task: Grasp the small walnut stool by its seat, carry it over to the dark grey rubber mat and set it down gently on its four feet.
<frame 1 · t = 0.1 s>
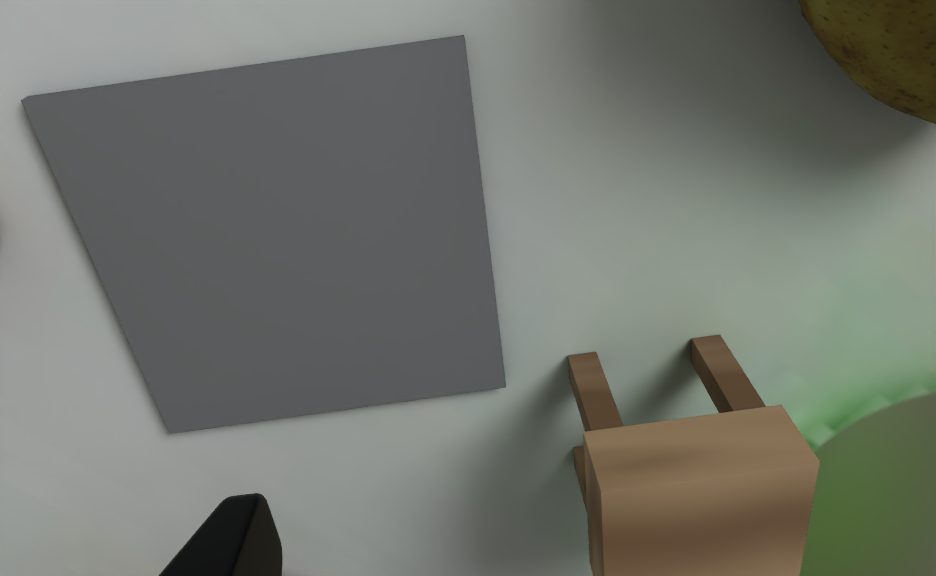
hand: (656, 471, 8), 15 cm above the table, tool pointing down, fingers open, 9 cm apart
mat: (298, 257, 23), on the table
stool: (643, 403, 27), on the table
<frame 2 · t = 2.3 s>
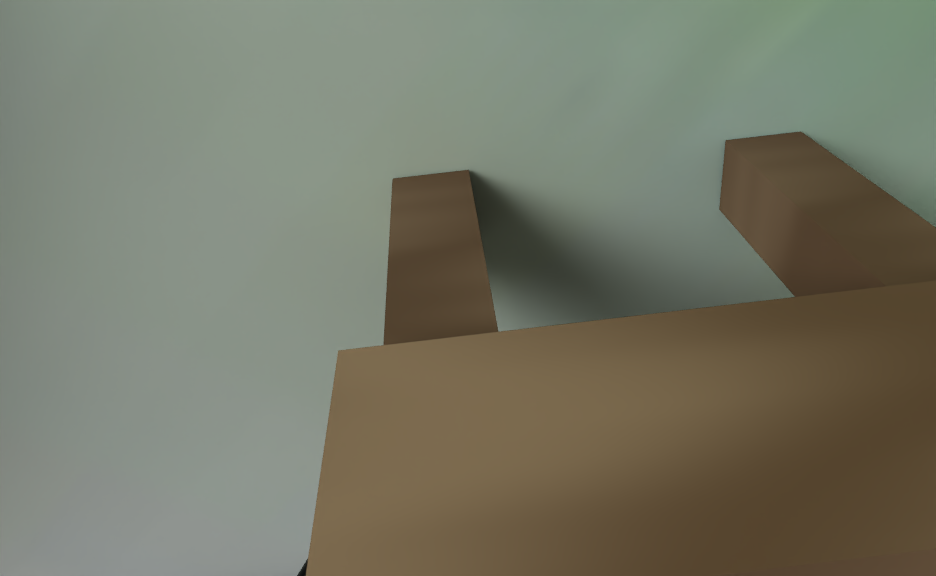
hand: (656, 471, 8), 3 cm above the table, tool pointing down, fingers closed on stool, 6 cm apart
stool: (597, 325, 11), on the table, touching gripper
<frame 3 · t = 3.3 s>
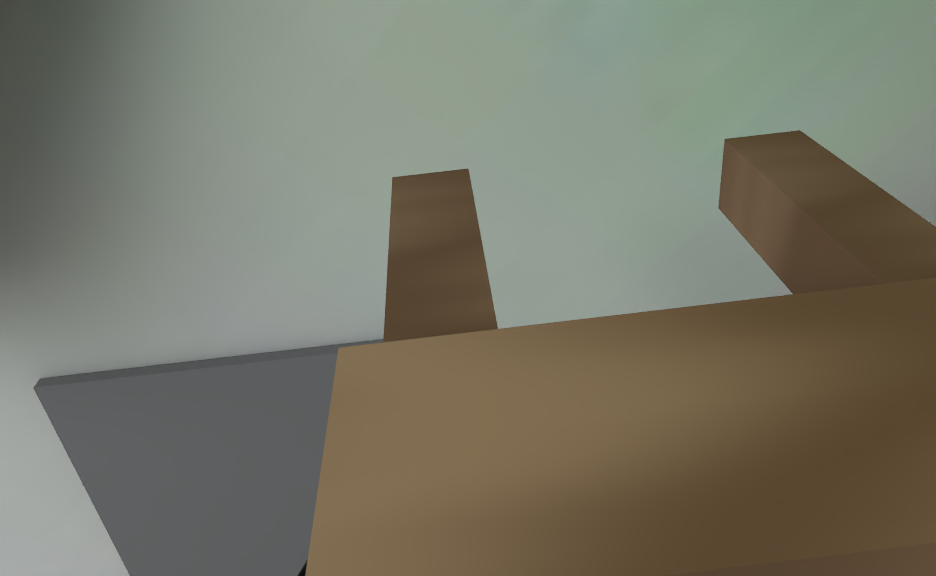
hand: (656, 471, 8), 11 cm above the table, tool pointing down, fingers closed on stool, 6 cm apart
mat: (302, 505, 23), on the table
stool: (597, 323, 11), point 8 cm above the table, touching gripper
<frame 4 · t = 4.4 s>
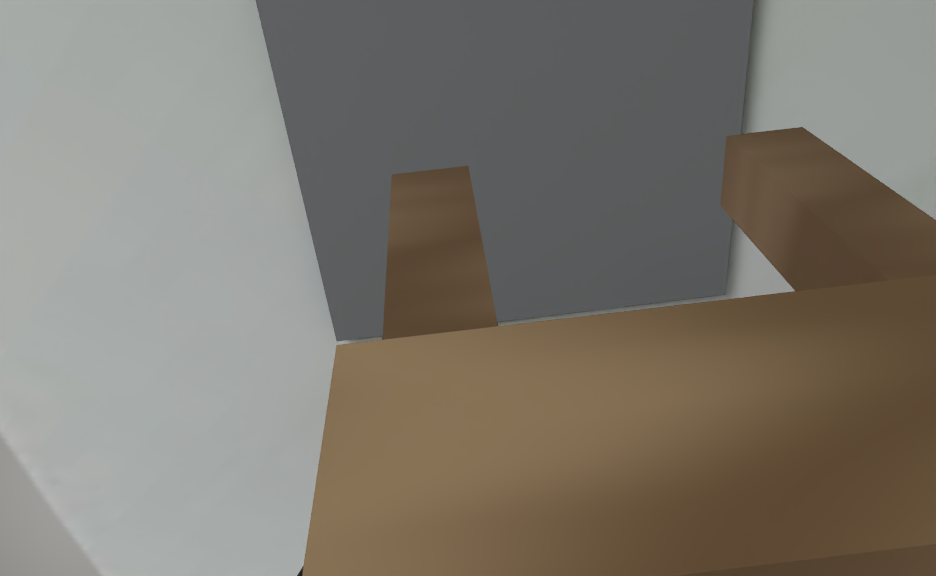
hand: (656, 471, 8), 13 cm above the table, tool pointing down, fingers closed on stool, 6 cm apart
mat: (516, 124, 20), on the table
stool: (598, 322, 11), point 10 cm above the table, touching gripper
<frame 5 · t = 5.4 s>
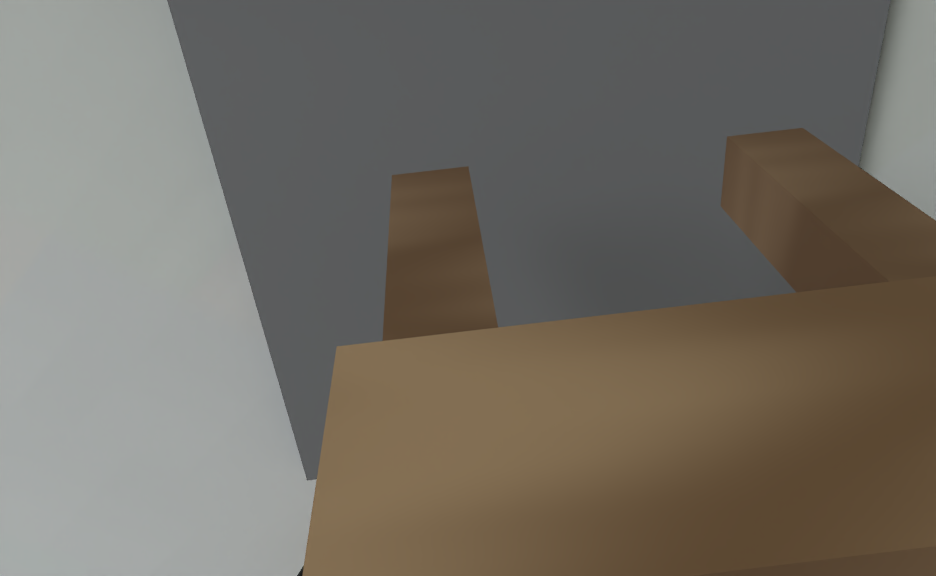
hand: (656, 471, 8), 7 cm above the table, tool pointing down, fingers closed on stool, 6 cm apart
mat: (546, 213, 15), on the table
stool: (598, 322, 11), point 4 cm above the table, touching gripper
when the fingers open (4 cm above the table, at t = 6.5 s): stool stays where it is, resting on mat.
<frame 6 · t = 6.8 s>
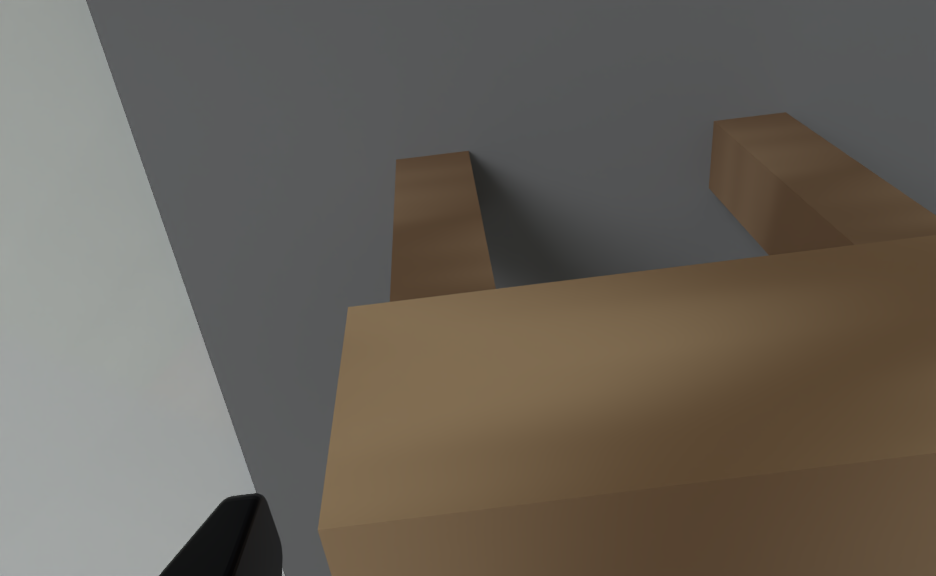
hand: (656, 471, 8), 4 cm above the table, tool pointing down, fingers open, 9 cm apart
mat: (583, 293, 12), on the table
stool: (593, 301, 11), resting on mat
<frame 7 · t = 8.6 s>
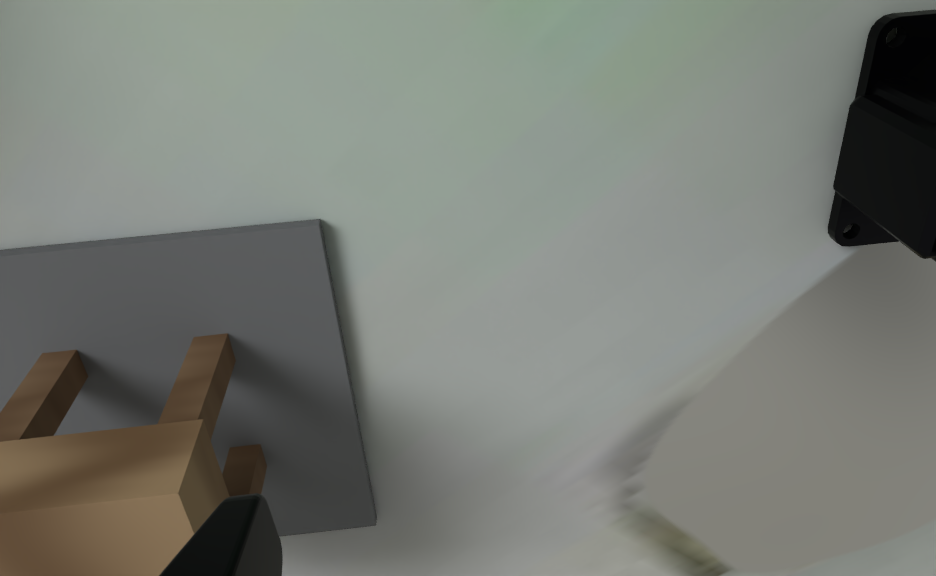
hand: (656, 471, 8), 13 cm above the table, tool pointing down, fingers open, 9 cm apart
mat: (163, 407, 23), on the table
stool: (161, 413, 23), resting on mat
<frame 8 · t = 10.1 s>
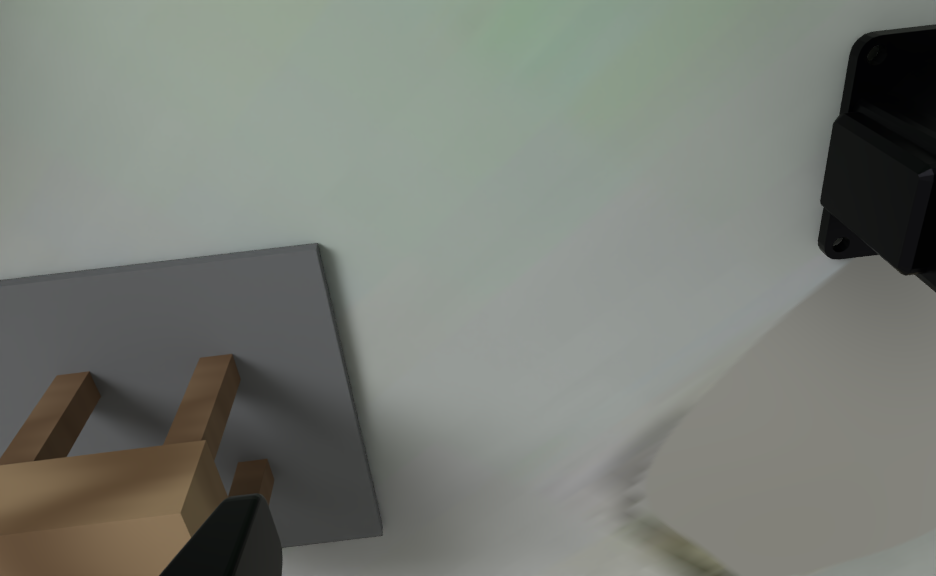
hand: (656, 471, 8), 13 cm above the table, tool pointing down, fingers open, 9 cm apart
mat: (173, 424, 24), on the table
stool: (172, 430, 24), resting on mat
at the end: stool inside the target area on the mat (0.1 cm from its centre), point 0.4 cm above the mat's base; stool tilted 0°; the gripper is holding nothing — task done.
